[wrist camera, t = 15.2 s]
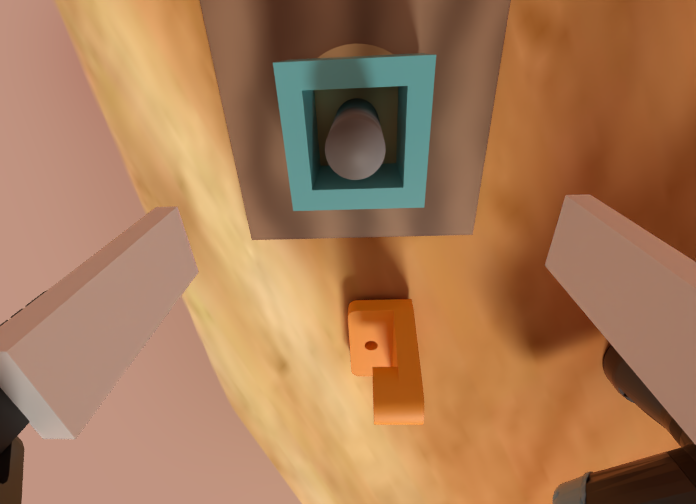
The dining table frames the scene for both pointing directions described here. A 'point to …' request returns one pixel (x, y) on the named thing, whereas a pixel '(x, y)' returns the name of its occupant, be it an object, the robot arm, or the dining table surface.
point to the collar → (302, 134)
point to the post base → (358, 22)
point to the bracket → (388, 358)
